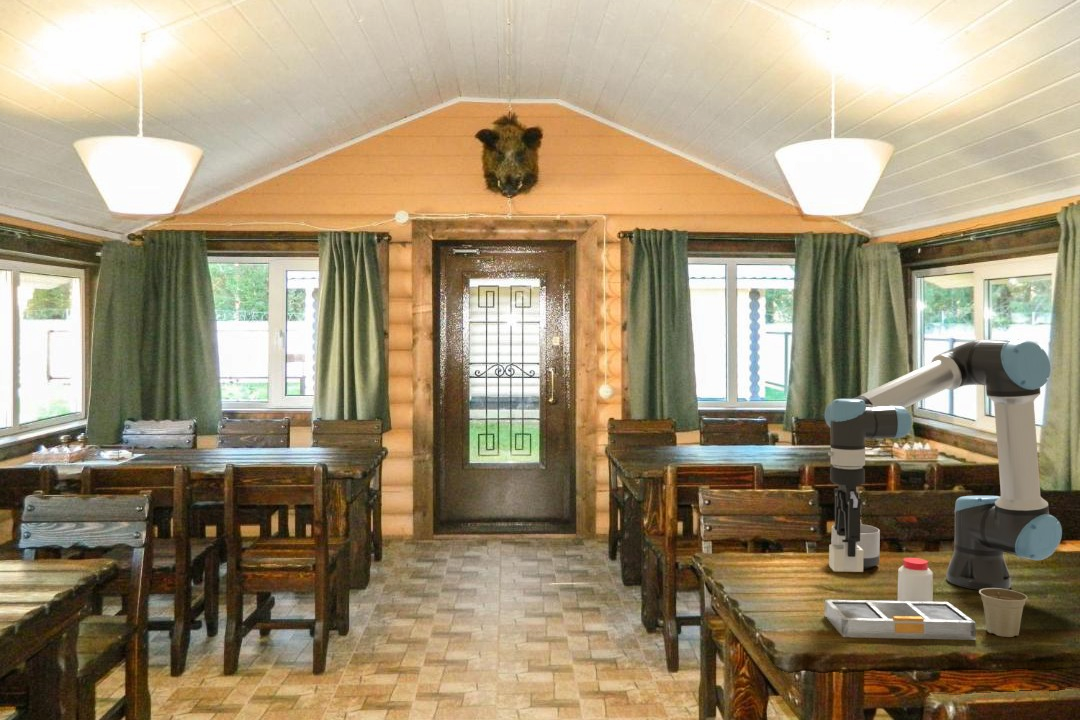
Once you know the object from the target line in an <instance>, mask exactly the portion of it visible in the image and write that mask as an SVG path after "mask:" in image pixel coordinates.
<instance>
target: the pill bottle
mask: <svg viewBox="0 0 1080 720" xmlns="http://www.w3.org/2000/svg"><path fill="white" fill-rule="evenodd" d="M902 561H903V562H902V563H903V564H902V565H901V566H900V567H899V568H898V569H897V601H925V602H934V601H933V599H934V598H933V594H934V593H933V592H934V591H933V590H934V589H933V586H934V584H933V583H934V573H933V571H932V570H931V569H930V568H929V561H928V560H926V559H923V558H920V557H919V558H918V557H904V558H903V560H902Z"/></svg>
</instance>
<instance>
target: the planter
mask: <svg viewBox="0 0 1080 720" xmlns="http://www.w3.org/2000/svg"><path fill="white" fill-rule="evenodd" d="M880 532H881V530H880V529H879V528H877V527H875V526H873V525H868V524H862V523H860V542H857V545H858V546H859V547H861V548H862V549H863V550H864V554H863V570H865V569H871V568H873V567H875V566H877V565H879V563H880V545H881V544H880V543H881V542H880V536H881V535H880ZM838 536H839V535H837V530H835V524H833V525H832V526H831V541H830V542H831V544H830V545H838Z"/></svg>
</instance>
